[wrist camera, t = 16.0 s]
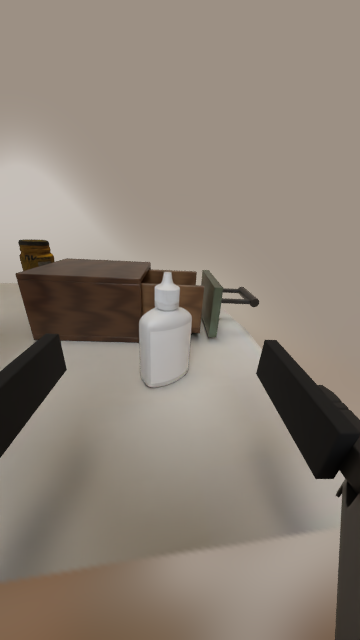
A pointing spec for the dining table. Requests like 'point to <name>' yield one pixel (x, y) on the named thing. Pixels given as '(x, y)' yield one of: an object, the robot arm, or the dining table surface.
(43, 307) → the cabinet
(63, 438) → the dining table surface
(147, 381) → the eye dropper bottle
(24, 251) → the condiment
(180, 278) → the drawer
